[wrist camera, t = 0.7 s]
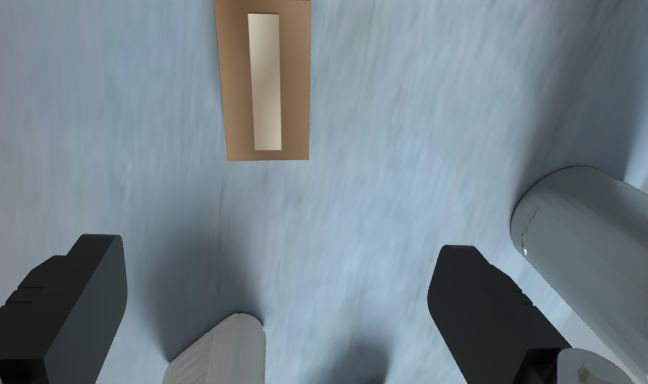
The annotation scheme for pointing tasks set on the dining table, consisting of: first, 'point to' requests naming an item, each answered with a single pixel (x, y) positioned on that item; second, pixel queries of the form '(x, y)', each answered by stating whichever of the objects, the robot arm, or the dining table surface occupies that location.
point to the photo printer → (223, 355)
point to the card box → (265, 77)
